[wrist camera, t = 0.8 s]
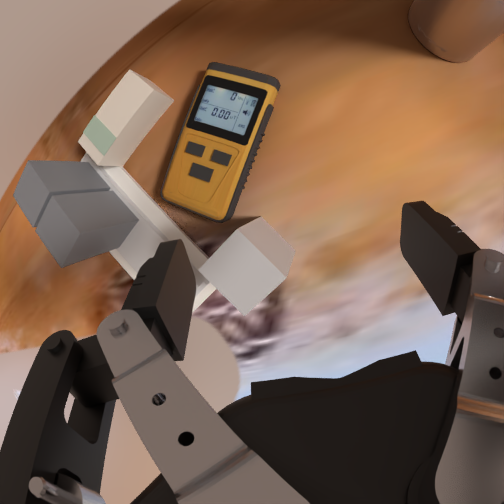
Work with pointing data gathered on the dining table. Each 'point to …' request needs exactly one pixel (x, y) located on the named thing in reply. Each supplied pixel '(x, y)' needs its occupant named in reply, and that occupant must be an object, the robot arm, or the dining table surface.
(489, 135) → the dining table surface
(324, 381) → the robot arm
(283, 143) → the dining table surface
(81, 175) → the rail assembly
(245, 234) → the block
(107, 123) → the block
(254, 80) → the electronic device
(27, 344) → the dining table surface
